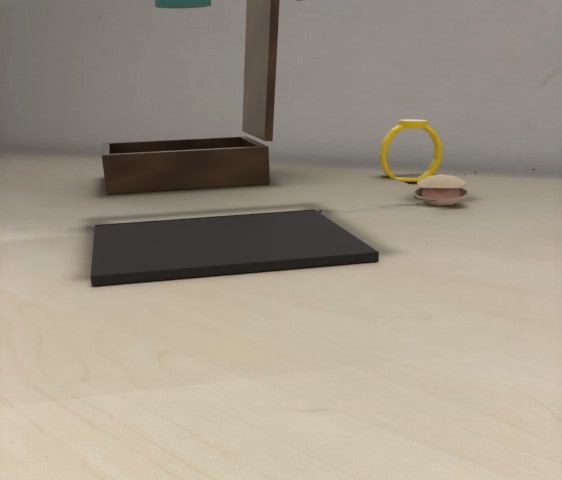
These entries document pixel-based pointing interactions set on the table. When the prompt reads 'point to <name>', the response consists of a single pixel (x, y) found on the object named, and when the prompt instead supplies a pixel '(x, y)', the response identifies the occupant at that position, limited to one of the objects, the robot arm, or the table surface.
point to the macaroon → (441, 189)
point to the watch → (402, 124)
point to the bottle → (182, 3)
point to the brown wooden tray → (184, 164)
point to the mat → (221, 246)
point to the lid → (260, 67)
